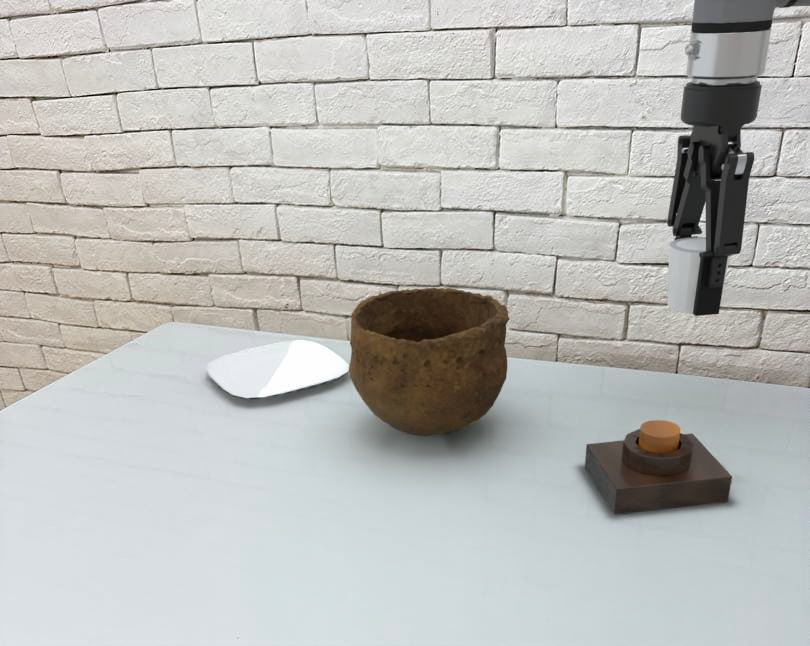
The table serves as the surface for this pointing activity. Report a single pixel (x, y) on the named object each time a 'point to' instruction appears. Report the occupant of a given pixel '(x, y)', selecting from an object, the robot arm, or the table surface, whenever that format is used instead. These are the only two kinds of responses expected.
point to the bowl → (429, 357)
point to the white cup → (685, 272)
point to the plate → (276, 369)
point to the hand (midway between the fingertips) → (692, 303)
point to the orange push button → (659, 436)
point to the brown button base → (656, 475)
